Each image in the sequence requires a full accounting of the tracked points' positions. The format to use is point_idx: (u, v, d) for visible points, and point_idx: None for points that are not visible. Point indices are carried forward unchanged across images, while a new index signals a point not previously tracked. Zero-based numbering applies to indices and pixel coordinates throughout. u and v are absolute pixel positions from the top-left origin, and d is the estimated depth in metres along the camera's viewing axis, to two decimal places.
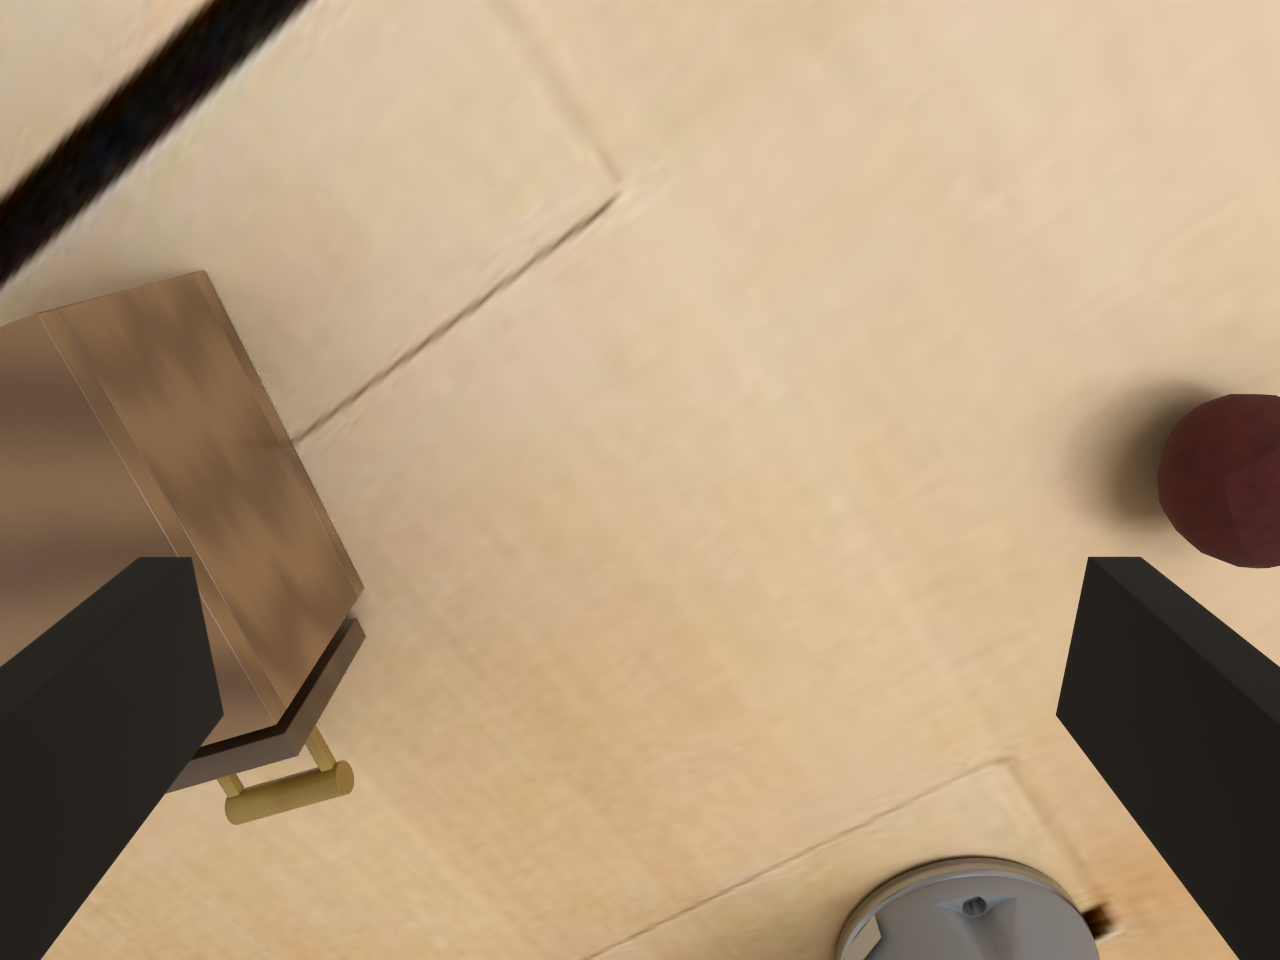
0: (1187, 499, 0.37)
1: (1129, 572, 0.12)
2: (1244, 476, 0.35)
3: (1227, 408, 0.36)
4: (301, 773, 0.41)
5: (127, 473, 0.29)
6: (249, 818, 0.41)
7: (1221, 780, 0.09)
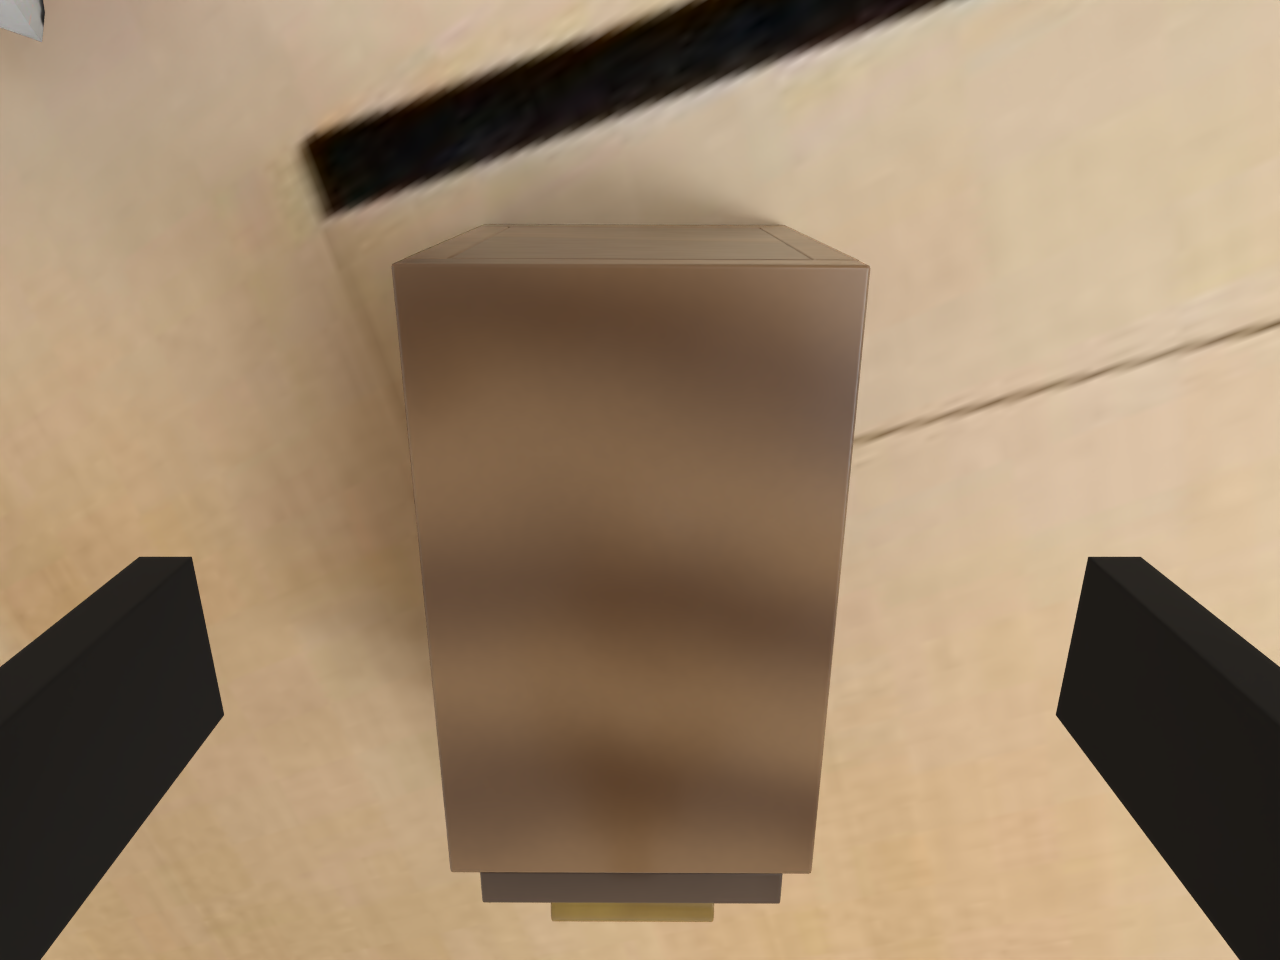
0: None
1: (1129, 572, 0.12)
2: None
3: None
4: None
5: (840, 514, 0.20)
6: (578, 919, 0.31)
7: (1221, 780, 0.09)
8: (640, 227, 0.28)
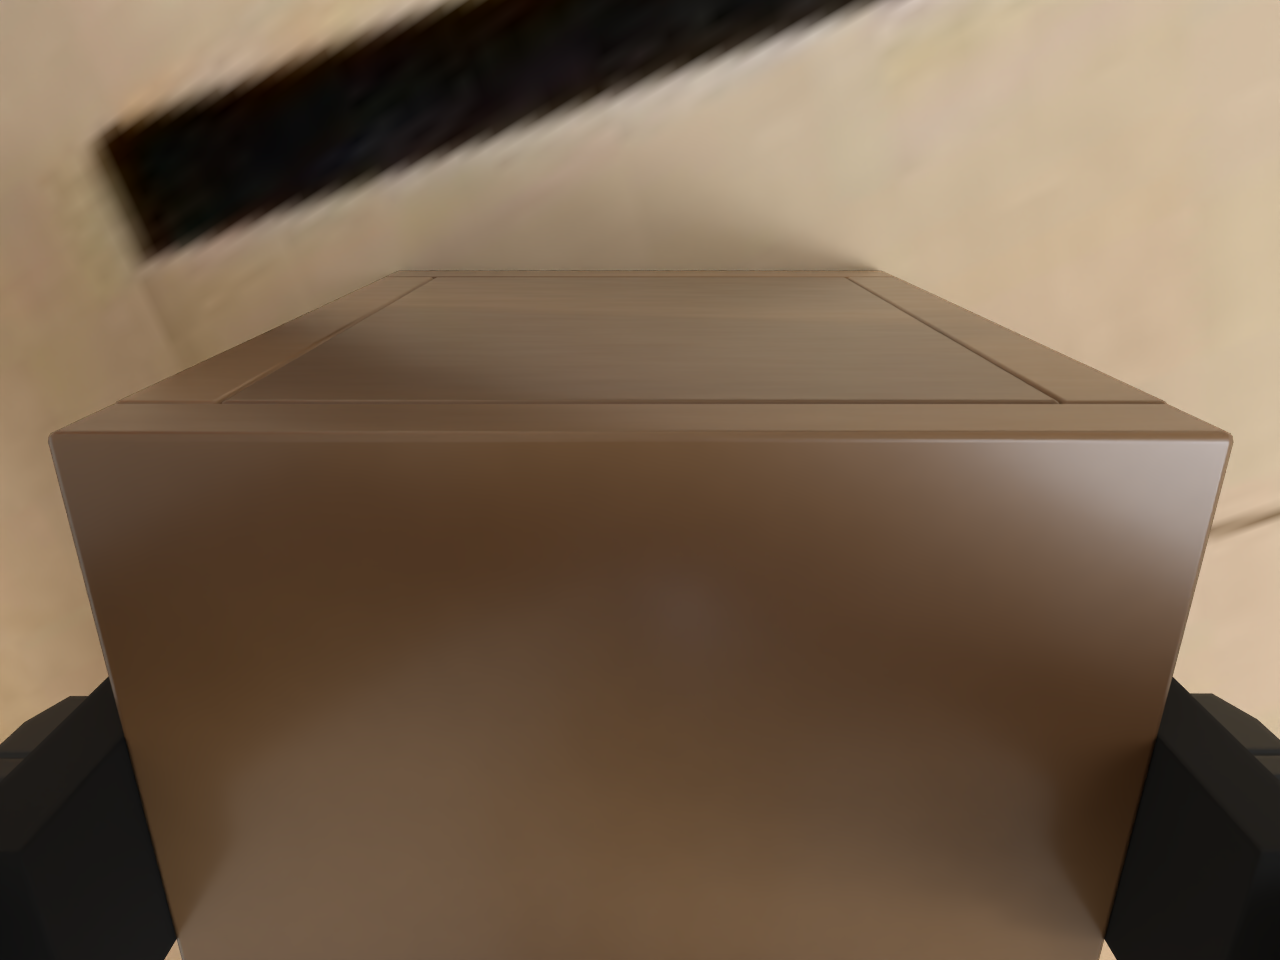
0: None
1: None
2: None
3: None
4: None
5: (1092, 934, 0.09)
6: None
7: None
8: (650, 277, 0.17)
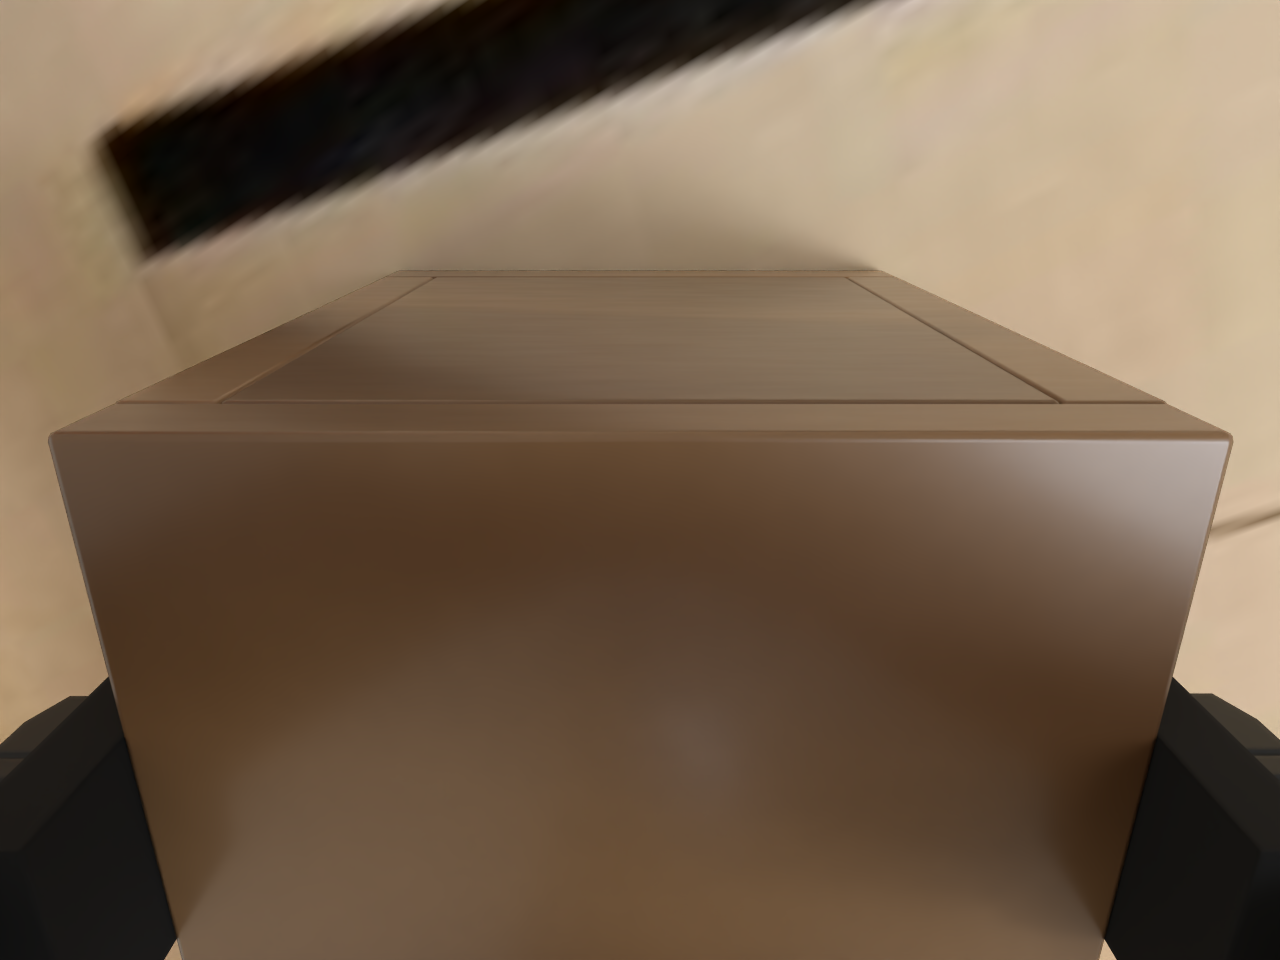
0: None
1: None
2: None
3: None
4: None
5: (1091, 934, 0.09)
6: None
7: None
8: (650, 277, 0.17)
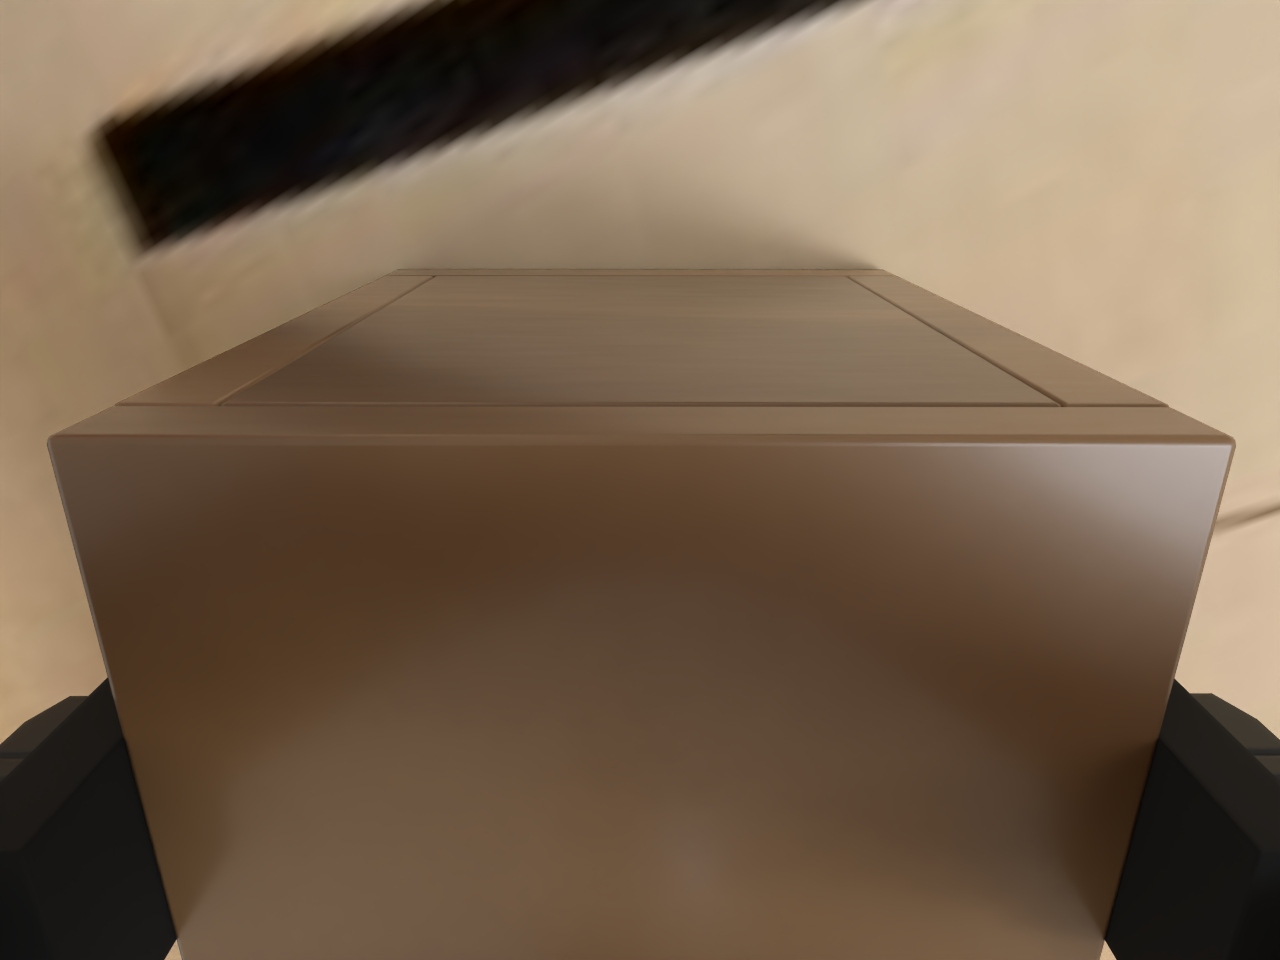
0: None
1: None
2: None
3: None
4: None
5: (1092, 937, 0.09)
6: None
7: None
8: (650, 276, 0.17)
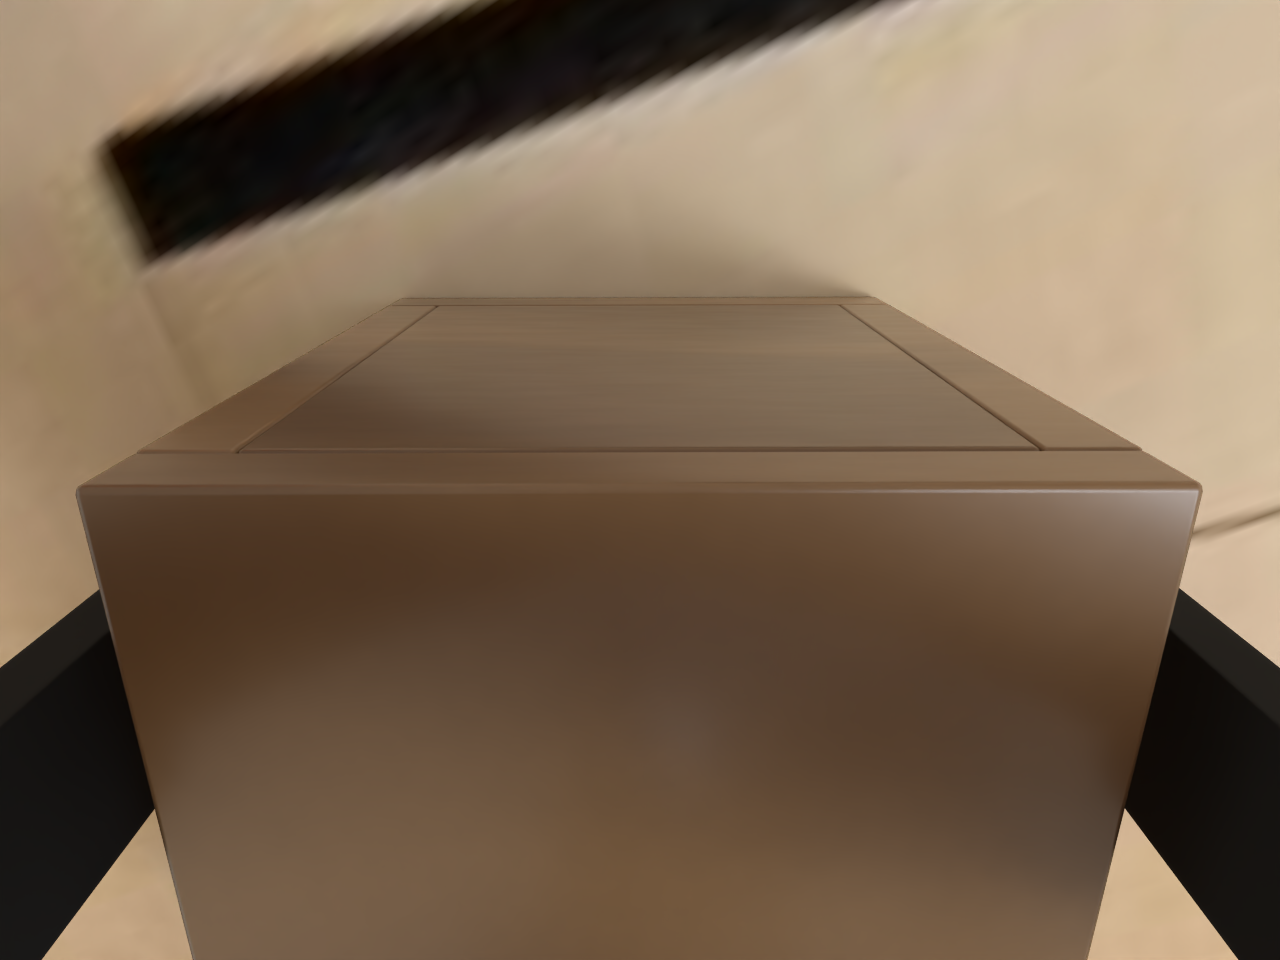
0: None
1: None
2: None
3: None
4: None
5: (1075, 955, 0.10)
6: None
7: (1219, 779, 0.09)
8: (648, 305, 0.17)
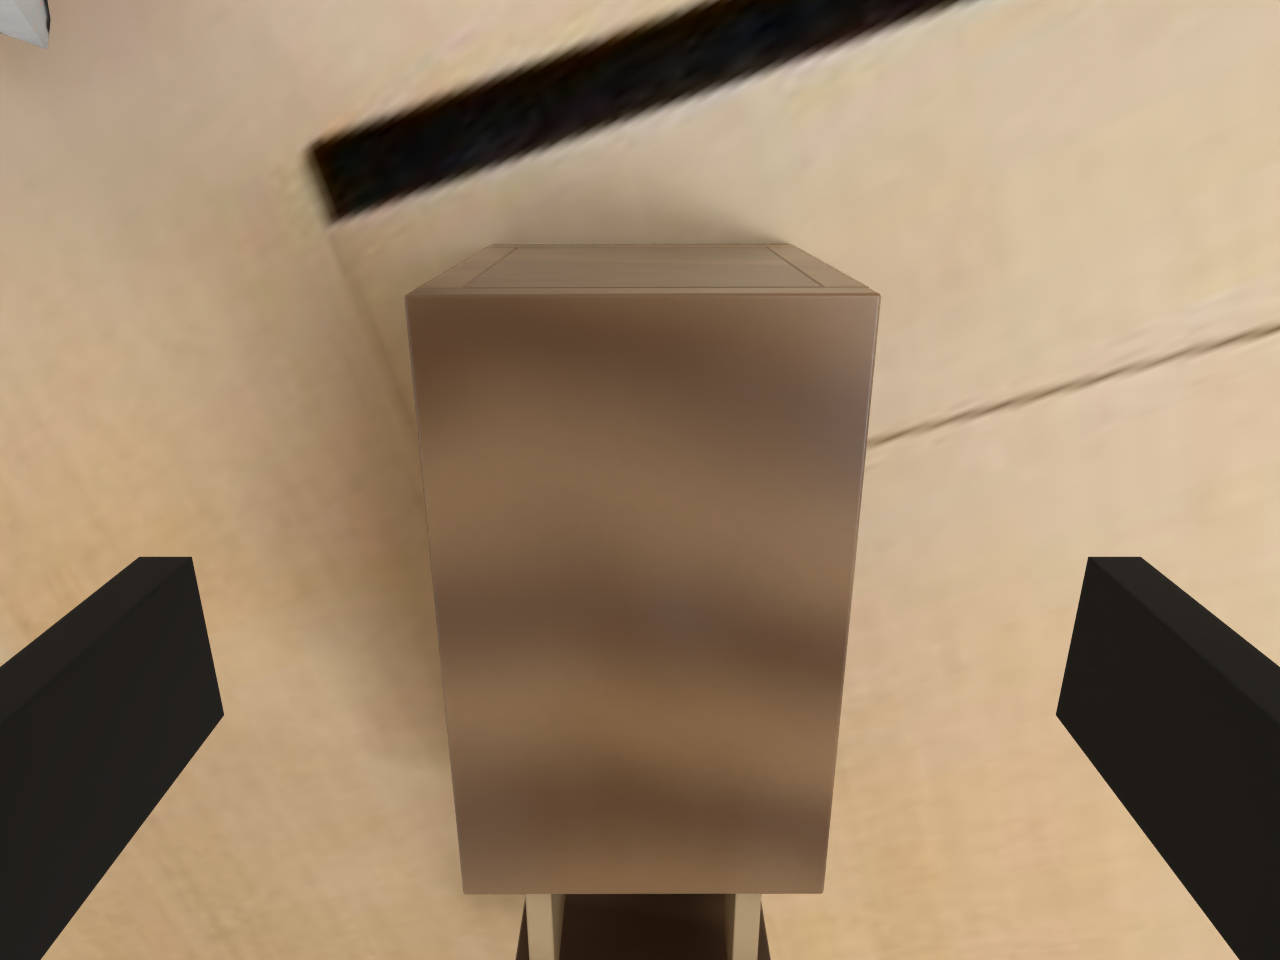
0: None
1: (1129, 572, 0.12)
2: None
3: None
4: None
5: (851, 539, 0.20)
6: None
7: (1221, 780, 0.09)
8: (647, 247, 0.28)
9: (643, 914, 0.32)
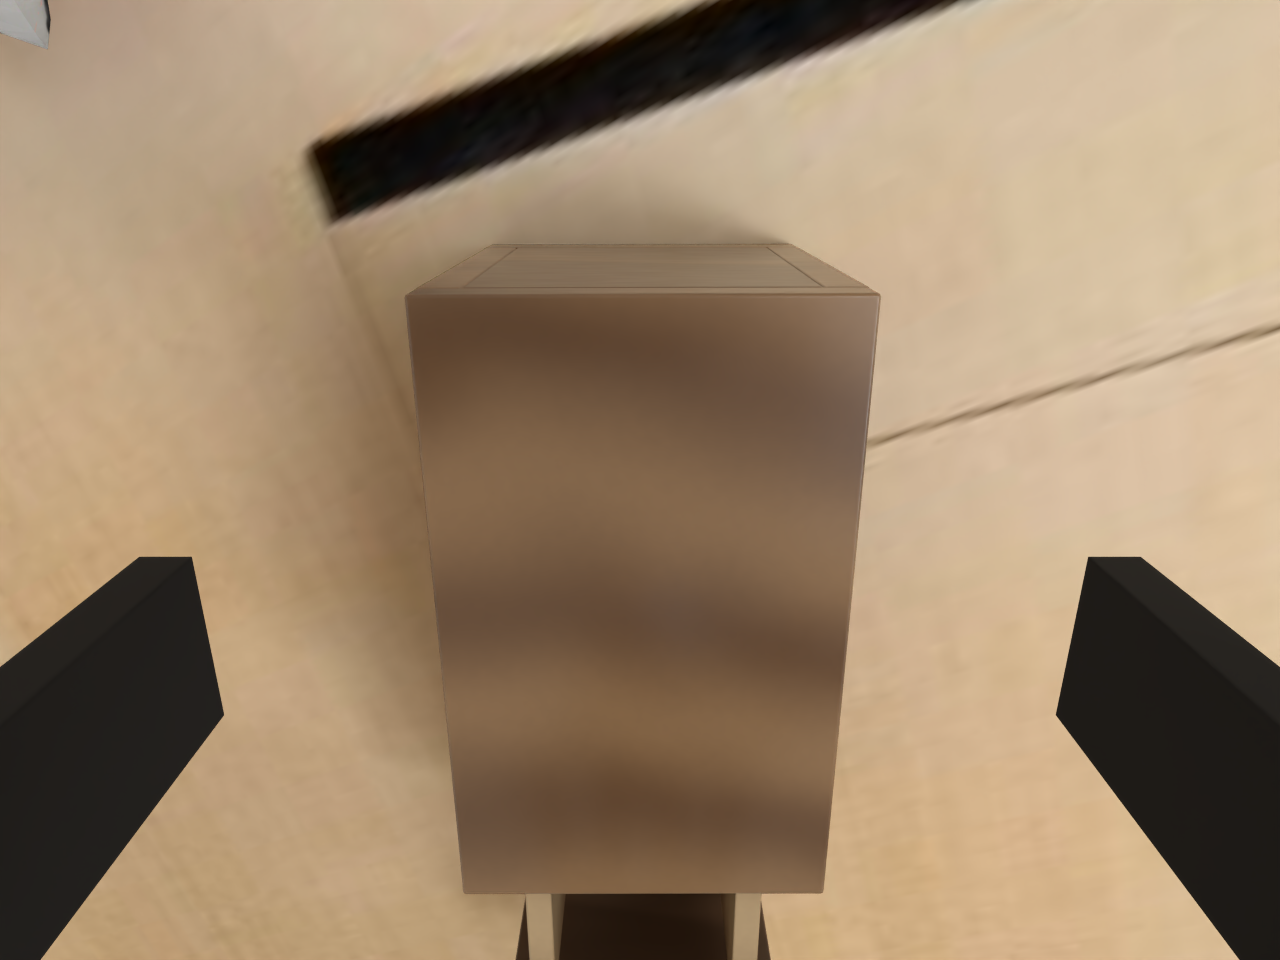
0: None
1: (1129, 572, 0.12)
2: None
3: None
4: None
5: (851, 539, 0.20)
6: None
7: (1221, 780, 0.09)
8: (647, 247, 0.28)
9: (643, 914, 0.32)
